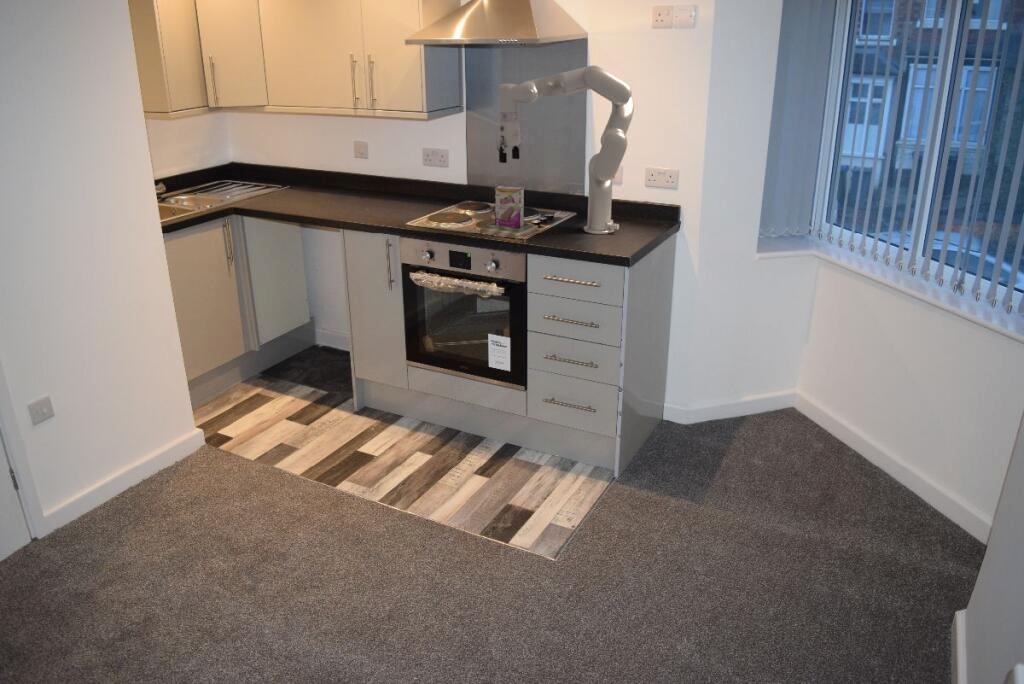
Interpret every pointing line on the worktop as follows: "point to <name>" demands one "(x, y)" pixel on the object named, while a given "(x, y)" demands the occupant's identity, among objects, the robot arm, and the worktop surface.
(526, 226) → the foundation plinth
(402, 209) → the worktop surface
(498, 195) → the candy bar box
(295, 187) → the worktop surface
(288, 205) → the worktop surface
